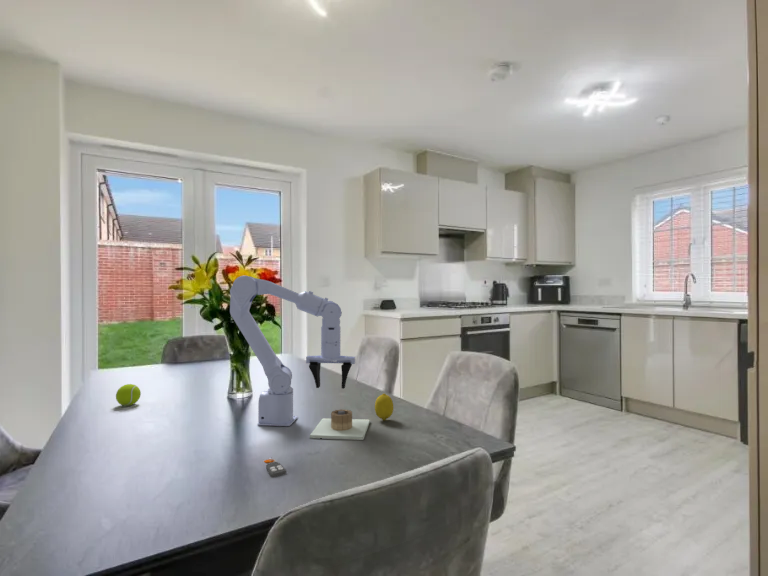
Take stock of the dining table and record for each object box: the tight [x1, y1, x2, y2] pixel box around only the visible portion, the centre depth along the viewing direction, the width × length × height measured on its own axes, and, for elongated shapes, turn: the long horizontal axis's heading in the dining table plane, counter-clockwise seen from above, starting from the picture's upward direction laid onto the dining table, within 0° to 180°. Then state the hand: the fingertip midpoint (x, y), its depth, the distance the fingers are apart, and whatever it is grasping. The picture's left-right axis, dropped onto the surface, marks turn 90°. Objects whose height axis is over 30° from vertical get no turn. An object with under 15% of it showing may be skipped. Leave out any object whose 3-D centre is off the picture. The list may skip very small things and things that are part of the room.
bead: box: [330, 409, 353, 431], centre depth 114 cm, size 6×6×4 cm
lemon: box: [374, 393, 394, 421], centre depth 123 cm, size 6×6×8 cm
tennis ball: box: [115, 383, 142, 407], centre depth 138 cm, size 7×7×7 cm
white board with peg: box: [309, 411, 371, 441], centre depth 115 cm, size 14×14×5 cm
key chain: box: [263, 458, 287, 478], centre depth 92 cm, size 13×4×2 cm, turn 30°
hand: (330, 387), depth 124 cm, fingers open, 7 cm apart
